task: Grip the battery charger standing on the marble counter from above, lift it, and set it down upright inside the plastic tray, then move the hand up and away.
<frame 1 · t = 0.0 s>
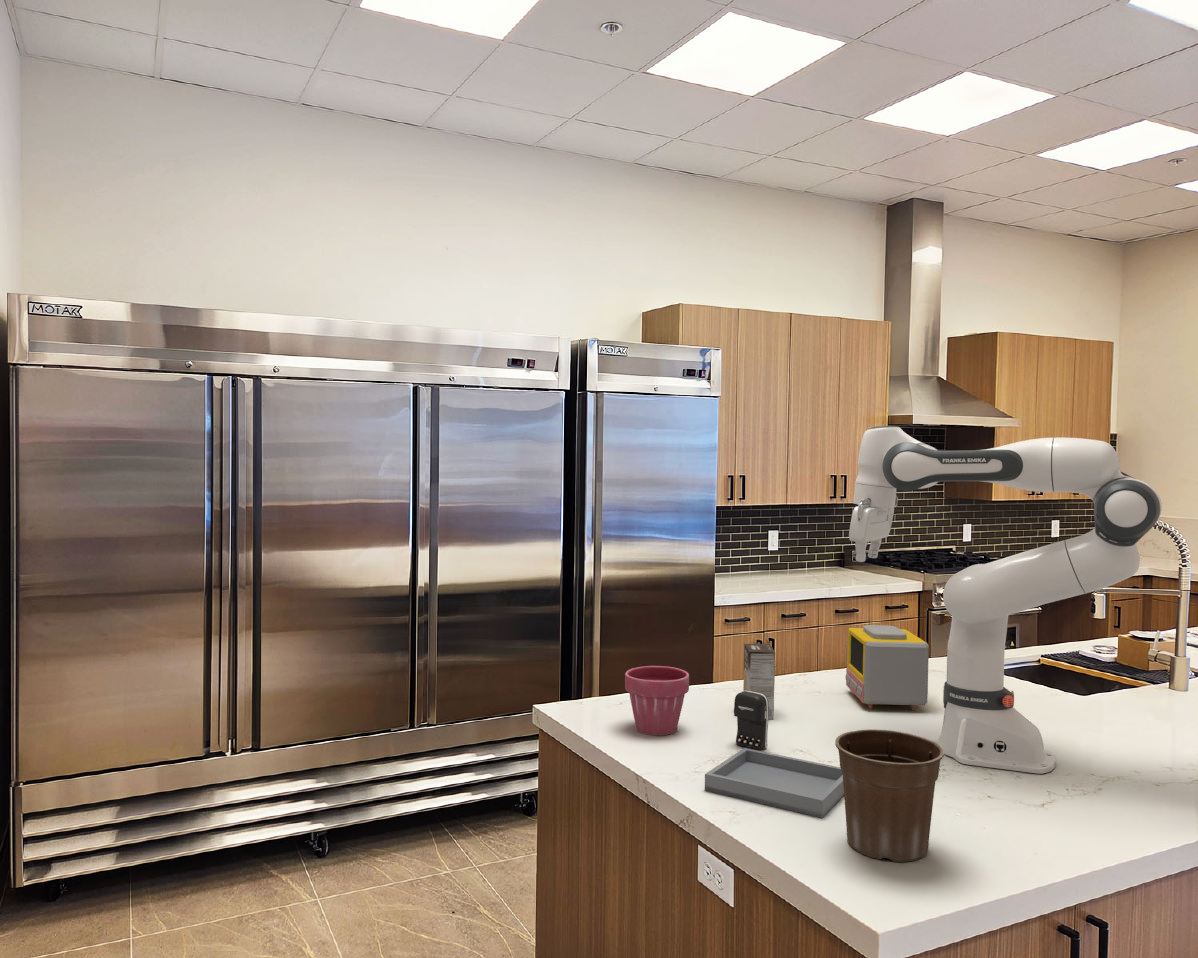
hand: (866, 559, 198), 39 cm above the counter, tool pointing down, fingers open, 8 cm apart
plant pot: (656, 730, 199), on the counter
coffee box: (758, 714, 212), on the counter
tray: (779, 788, 164), on the counter
battery charger: (749, 747, 188), on the counter
alarm clock: (884, 702, 225), on the counter
plant pot 2: (886, 847, 140), on the counter
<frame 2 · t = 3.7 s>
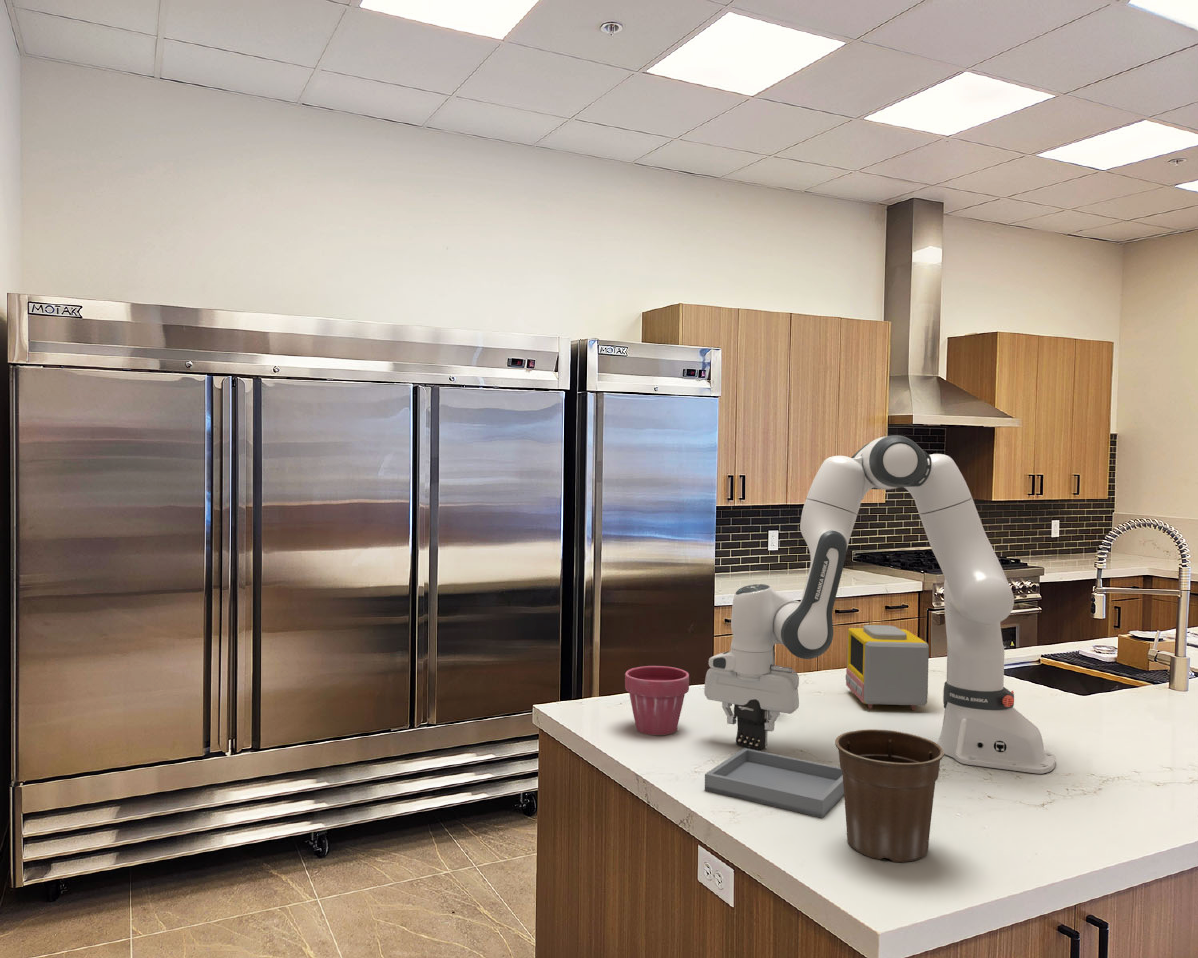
hand: (750, 726, 188), 4 cm above the counter, tool pointing down, fingers open, 7 cm apart
battery charger: (749, 747, 188), on the counter, touching gripper
everything else where it was.
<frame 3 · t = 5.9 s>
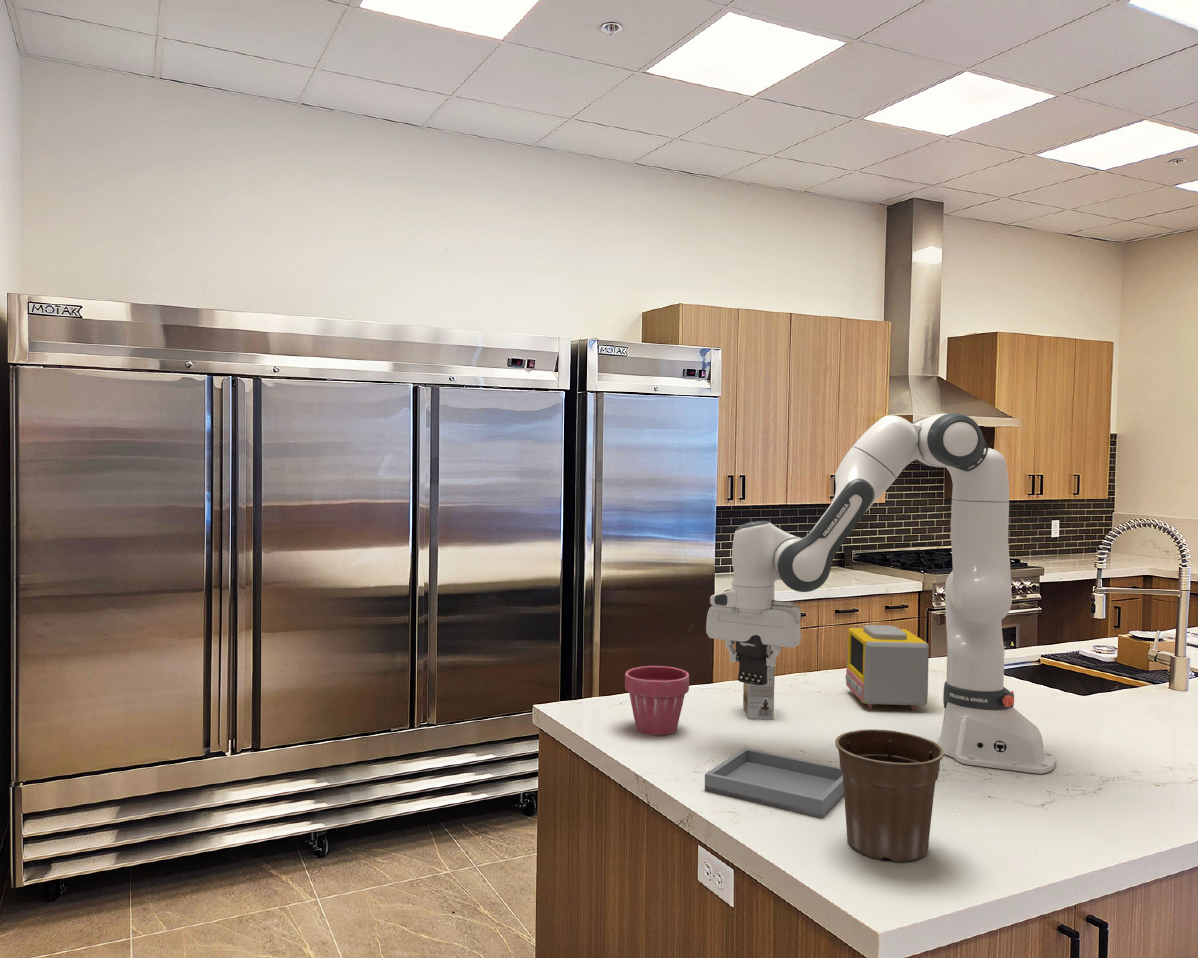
hand: (752, 663, 187), 18 cm above the counter, tool pointing down, fingers closed on battery charger, 7 cm apart
battery charger: (751, 684, 188), point 13 cm above the counter, touching gripper
everything else where it was.
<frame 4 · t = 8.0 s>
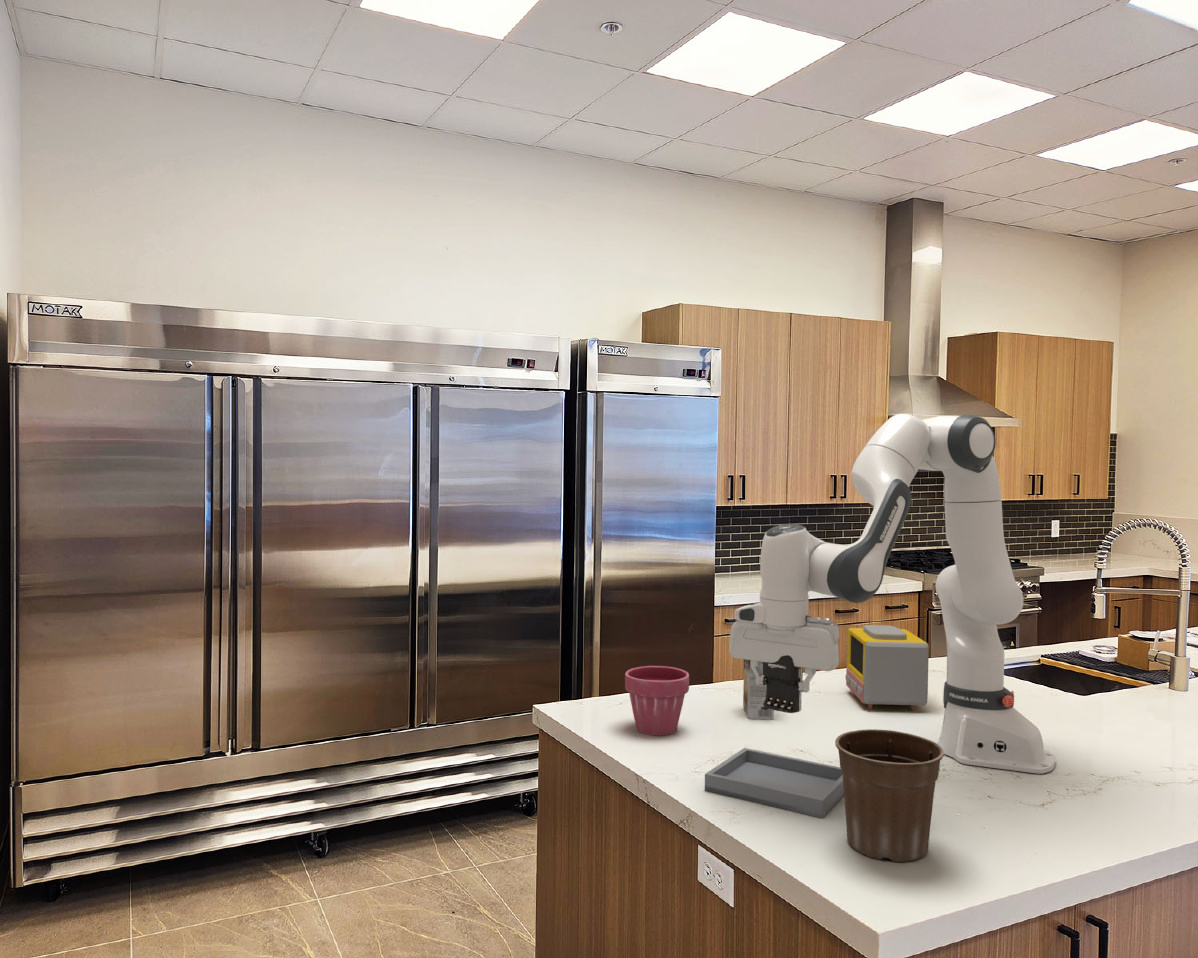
hand: (782, 687, 164), 19 cm above the counter, tool pointing down, fingers closed on battery charger, 7 cm apart
battery charger: (781, 711, 164), point 14 cm above the counter, touching gripper
everything else where it was.
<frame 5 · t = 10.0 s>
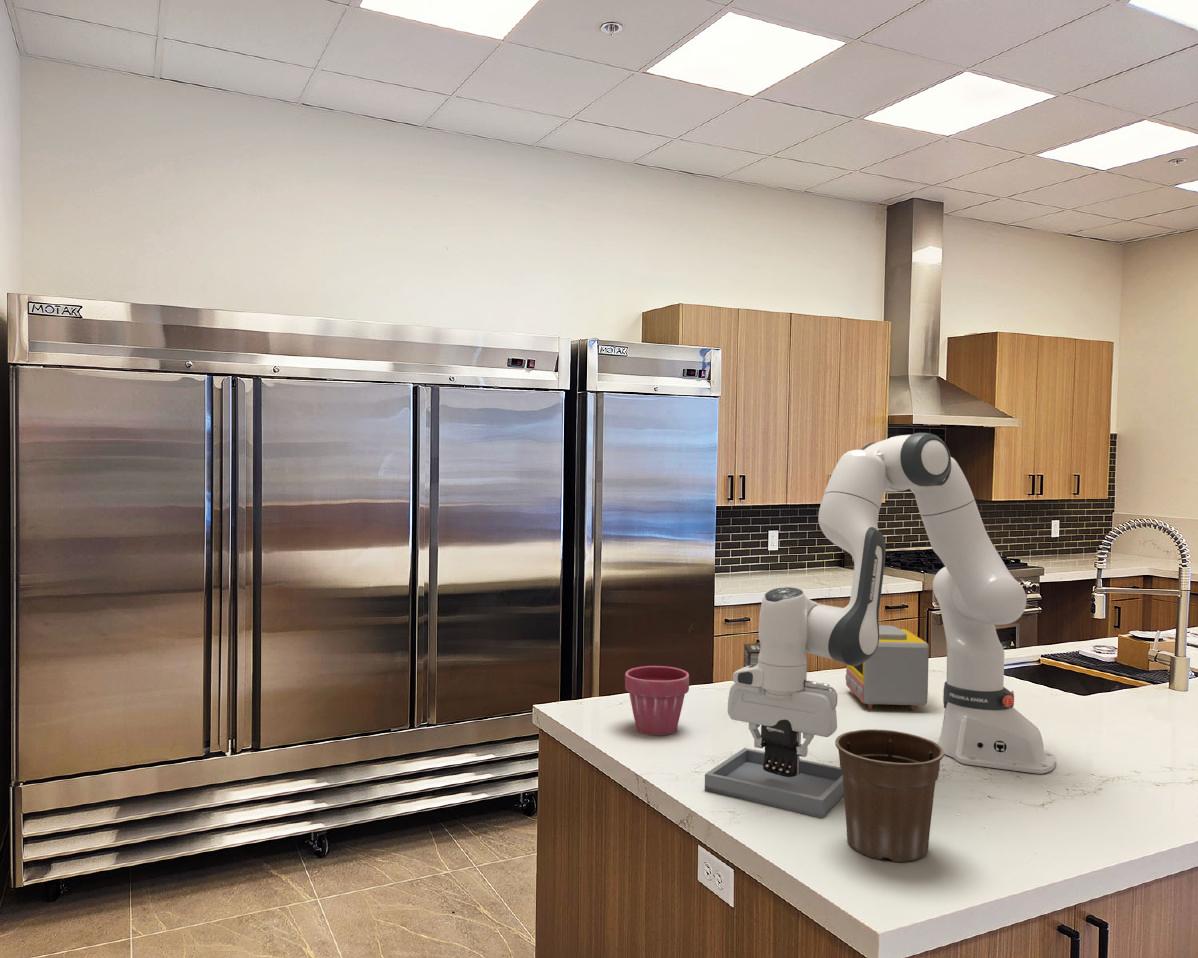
hand: (780, 751, 164), 7 cm above the counter, tool pointing down, fingers closed on battery charger, 7 cm apart
battery charger: (779, 774, 164), point 2 cm above the counter, touching gripper
everything else where it was.
when the fingers open (6 cm above the counter, at t = 11.2 s): battery charger drops 1 cm, resting on tray.
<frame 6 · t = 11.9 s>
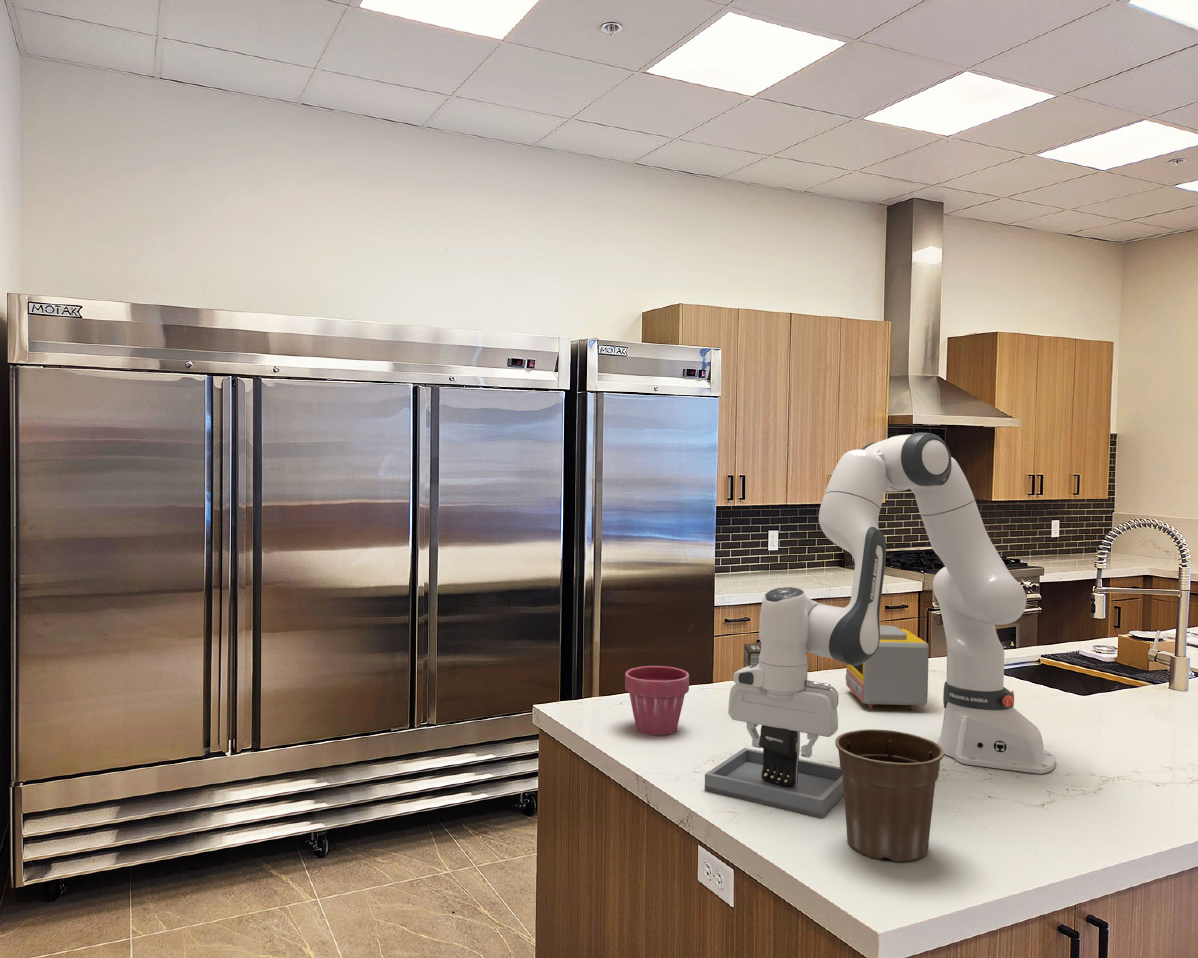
hand: (781, 751, 164), 7 cm above the counter, tool pointing down, fingers open, 8 cm apart
battery charger: (777, 783, 165), point 1 cm above the counter, touching tray
everything else where it was.
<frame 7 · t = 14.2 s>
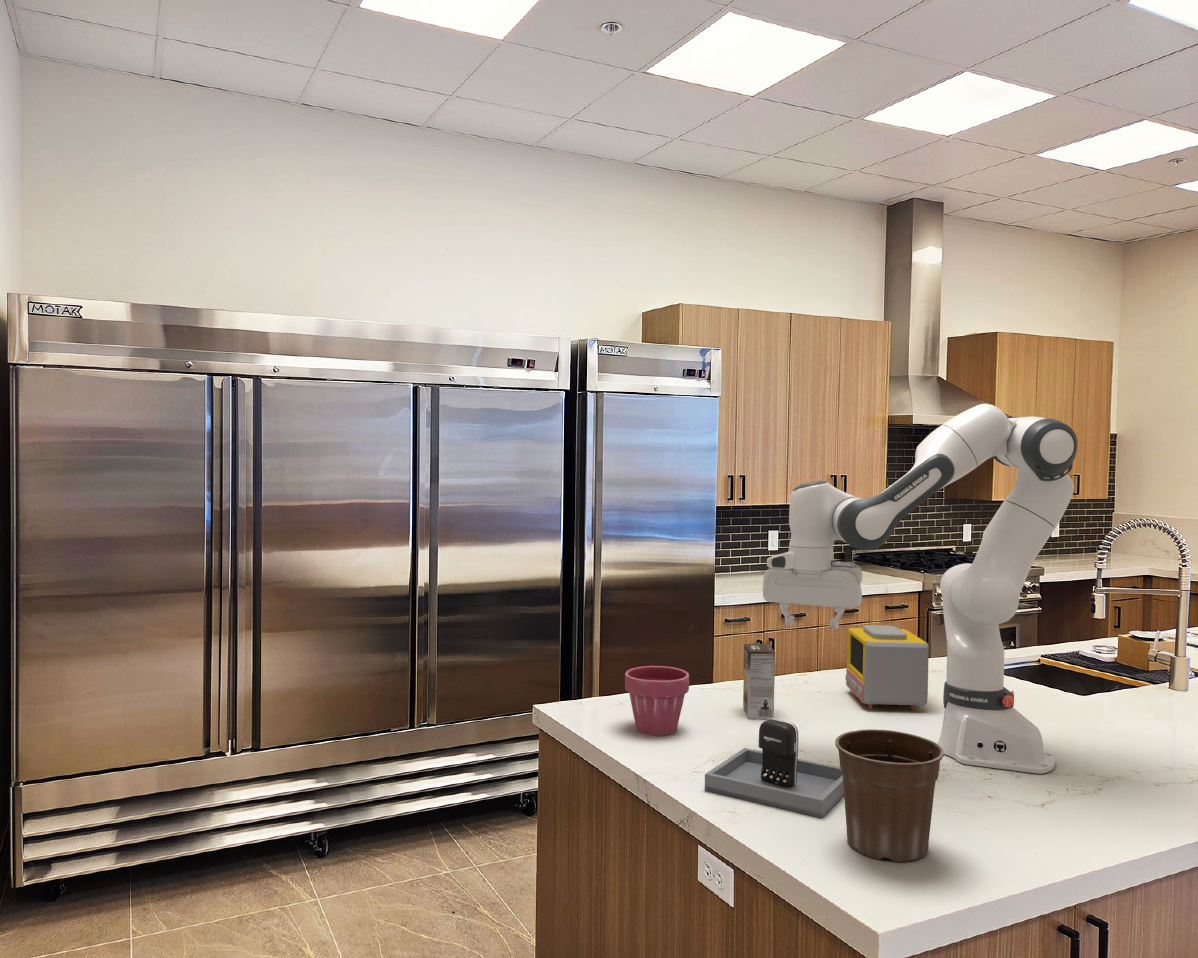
hand: (811, 626, 184), 26 cm above the counter, tool pointing down, fingers open, 8 cm apart
nothing on the counter moved.
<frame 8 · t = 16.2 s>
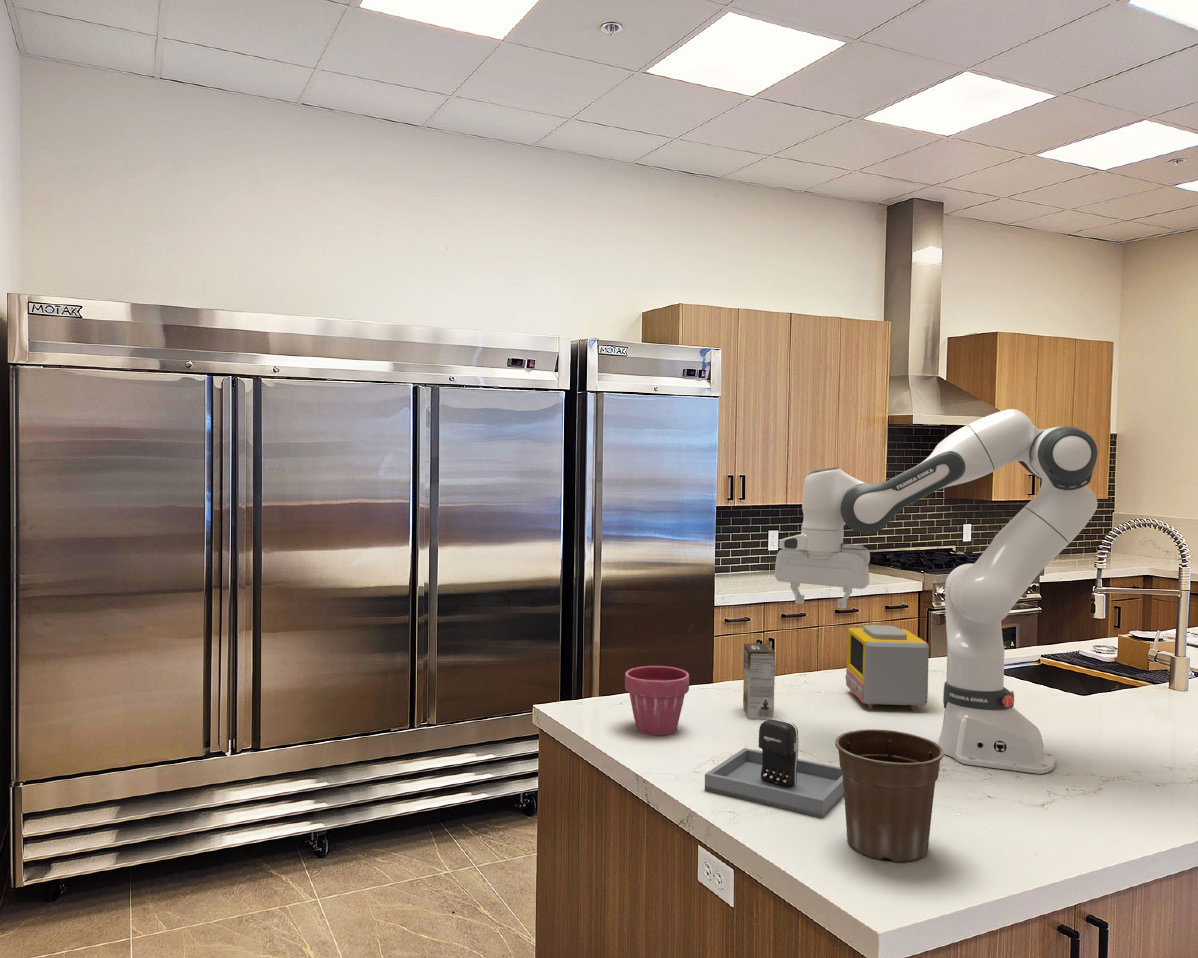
hand: (820, 605, 194), 29 cm above the counter, tool pointing down, fingers open, 8 cm apart
nothing on the counter moved.
at the end: battery charger inside the target area on the tray (0.7 cm from its centre), point 0.6 cm above the tray's base; battery charger tilted 0°; the gripper is holding nothing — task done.
